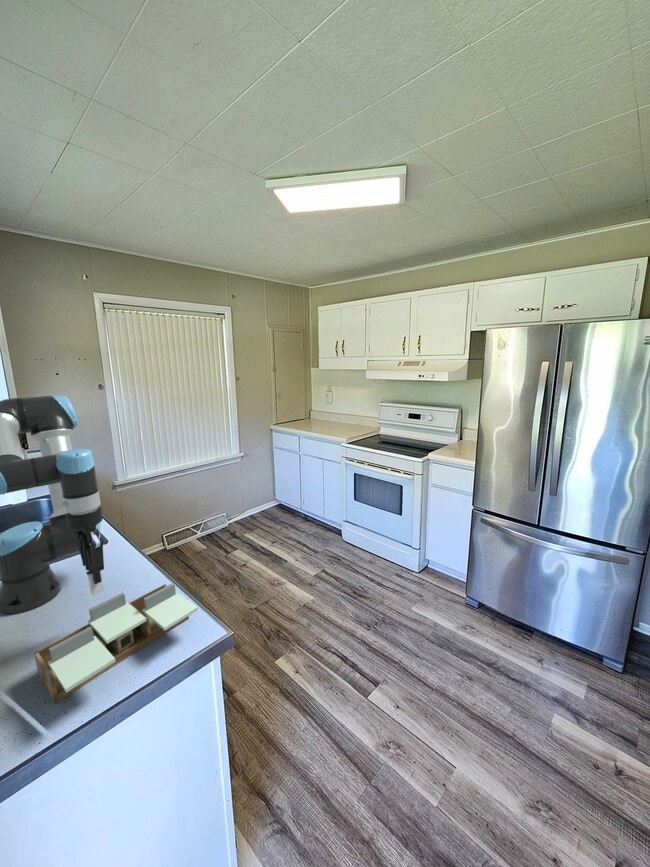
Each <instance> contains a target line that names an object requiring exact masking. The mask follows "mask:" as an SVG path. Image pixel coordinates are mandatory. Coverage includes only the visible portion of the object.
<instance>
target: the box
mask: <svg viewBox="0 0 650 867" xmlns="http://www.w3.org/2000/svg"><path fill="white" fill-rule="evenodd" d="M166 586H168V585H167V584H163V585H161V586H159V587H157V588H154V589H153V590H151V591H149V592H147V593H145V594H144V595H142V596H140V597H137V598H135V599H134V600H131V601H130V602H128V603H129V604H130V605H131V606H132V607H134V608H135V609H136V610H137V611H138V612H139V613H141V614H142V615H143V616H144V617H145V618H146V621H145V622H144V623H142V624H140V625H139V626H137V627H135V628H133V629H132V631H133V638H134V643H133V644H131V645H130V646H129V647H127V648H126V649H125V650H123V651H122V652H121V653H117V652H115V651H114V650H112V649H110V648H109V643H108V644H107V643H106V642H105V641H104V640H103V639H102V638H101V637H100V636H99V634H98V633H97V632H96V631H95V630H94V629H93V628H92V627H91V626H90V625H89V624H88V623H87V624H86V625H84V626H82V627H80V628H77V629H76V630H74V631H73V632H71V633H69V634H67V635H65V636H63V637H61V638H59V639H57V640H55V641H54V642H51V643H49V644H48V645H46V646H43V647H42V648H39V649H38V650H36V651H34V652H33V653H34V659H35V663H36V668H37V674H38V676H39V678H40V679H41V681H42V683H43V685H44V686H45V688H46V690H47V692H48V694H49V695H50V697H51V698H52V700H53V702H54V703H55V704H57V703H59V702H60V701H62V700H63V699H65V698H67V697H68V696H70V695H72V694H73V693H75V692H76V691H78V690H80V689H81V688H82V687H84V686H85V685H87V684H89V683H90V682H92V681H93V680H95V679H96V678H98V677H100V676H101V675H102V674H104V673H106V672H107V671H109V670H111V669H113V668H114V667H115V666H117V665H119V664H120V663H121V662H124V661H125V660H127V659H128V658H129V657H131V656H133V655H134V654H136V653H137V652H139V651H141V650H142V649H144V648H145V647H147V646H148V645H150V644H152V643H153V642H154V641H156V640H158V639H159V638H161V637H162V636H164V635H166V634H167V633H169V632H170V631H171V630H173V629H175V628H177V627H178V626H180V625H182V624H183V623H185V622H186V621H188V620H189V619H190V618H189V617H190V615H189V616H187V617H186V618H184V619H183V620H181V621H180V622H178V623H176V624H175V625H173V626H172V627H170V628H168V629H167V630H165V631H164V630H163V629H162V628H161V627H160V626H159V625H157V624H156V623H155V622H154V621H153V620H151V619H150V618H149V617H148V616H147V615H145V614H144V613H143V611H142V609H144V608H145V605H144V598H145V597H147V596H149V595H151V594H153V593H155V592H157V591H158V590H160V589H162V588H164V587H166ZM88 627H91V628H92V630H93V635H94V636H96V638H97V639H98V640H99V641H100V642H101V643H102V644H103V645H104V647H105V648H106V649H107V650H108V651H109V652H110V653H111V654H112V655H113V657H114V658H115V660H116V662H114V663H113V664H111V665H109V666H108V667H106V668H105V669H103V670H101V671H100V672H98V673H97V674H95V675H94V676H92V677H90V678H89V679H87V680H86V681H84V682H82V683H81V684H79V685H78V686H76V687H74V688H73V689H71V690H70V691H68V692H66V691H65V690H64V688H63V687H62V685H61V684H60V682H59V681H58V679H57V677H56V676H55V674H54V673H53V671H52V670H51V668H50V667H49V665H48V661H50V660H51V656H50V652H49V648H51V647H52V646H54V645H56V644H58V643H60V642H62V641H64V640H66V639H68V638H70V637H71V636H73V635H75V634H77V633H79V632H81V631H83V630H85V629H87V628H88Z"/></svg>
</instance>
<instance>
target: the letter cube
mask: <svg viewBox="0 0 650 867" xmlns="http://www.w3.org/2000/svg"><path fill="white" fill-rule="evenodd" d="M133 643H134V638H133V631H132V630H130V631H128V632H126V633H125V634H123V635H121V636H120V637H118V638H116V639H114V640H113V641H111V642H109V648H110V649H112V650H114V651H115V652H117V653H121V652H122V651H123V650H125V649H126V648H127V647H129V646H130V645H131V644H133Z"/></svg>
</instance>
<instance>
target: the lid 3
mask: <svg viewBox="0 0 650 867" xmlns="http://www.w3.org/2000/svg"><path fill="white" fill-rule="evenodd" d="M144 605H145V608H144V609H142V611H143V613H144V614H145V615H147V616H148V617H149V618H150V619H151V620H153V621H154V622H155V623H156V624H157V625H159V626H160V627H161V628H162V629H163V630H164V631H165V630H167V629H168V628H170V627H172V626H173V625H175V624H176V623H178V622H180V621H181V620H183V619H184V618H186V617H187V616H189V617H190V616H191V615H192V614H194V613H195V612H198V610H199V607H198V606H197V605H195V604H194V603H193V602H191V601H190V600H188V599H187V598H186V597H184V596H183V595H182V594H180V593H178V592H177V591H176V585H175V584H174V583H173V582H172V583H170V584H168V585H167V586H166V587H164V588H162V589H160V590H158V591H157V592H155V593H153V594H151V595H149V596H147V597H145V598H144Z"/></svg>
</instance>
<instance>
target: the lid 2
mask: <svg viewBox="0 0 650 867" xmlns="http://www.w3.org/2000/svg"><path fill="white" fill-rule="evenodd" d="M129 603H130V602H128V601H127V600H126V595H125V594H124V592H121V593H119V594H117V595H115V596H113V597H111V598H109V599H106V600H105V601H103V602H101V603H98V604H97V605H94V606H92V607H90V608H89V609H88V611H89V612H88V613H89V615H90V616H89V617H90V619H88V620H87V625H88V624H89V625H90V626H91V627H92V628H93V629H94V630H95V631H96V632H97V633H98V634H99V636H100V637H101V638H102V639H103V640H104V641H105V642H106V643H107V644H108V643H109V642H111V641H113V640H114V639H116V638H118V637H120V636H121V635H123V634H125V633H126V632H128V631H130V630H132V629H133V628H135V627H137V626H139V625H140V624H142V623H144V622H145V621H146V618H145V617H144V616H143V615H142V614H141V613H139V612H138V611H137V610H136V609H135V608H134V607H132V606H131V605H130V604H129Z"/></svg>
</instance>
